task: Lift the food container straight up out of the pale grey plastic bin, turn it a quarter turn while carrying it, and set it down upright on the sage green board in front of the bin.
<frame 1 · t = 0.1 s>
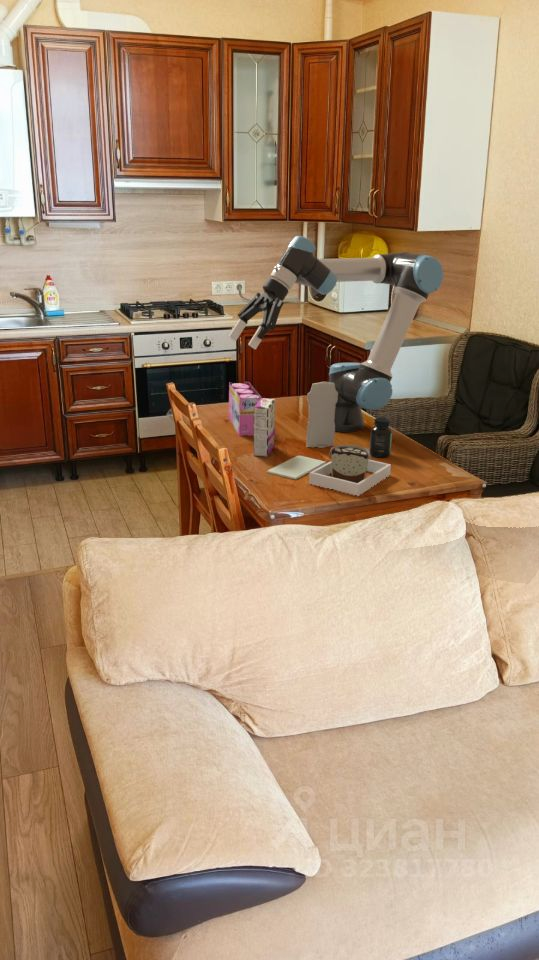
hand: (241, 343, 236), 36 cm above the table, tool tilted 35°, fingers open, 13 cm apart
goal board: (296, 467, 239), on the table
candy bar box: (263, 451, 253), on the table
grey upright slab: (320, 446, 259), on the table
food container: (350, 480, 230), resting in bin
supplement bottle: (379, 455, 252), on the table
bin: (350, 479, 230), on the table
gum box: (244, 426, 279), on the table
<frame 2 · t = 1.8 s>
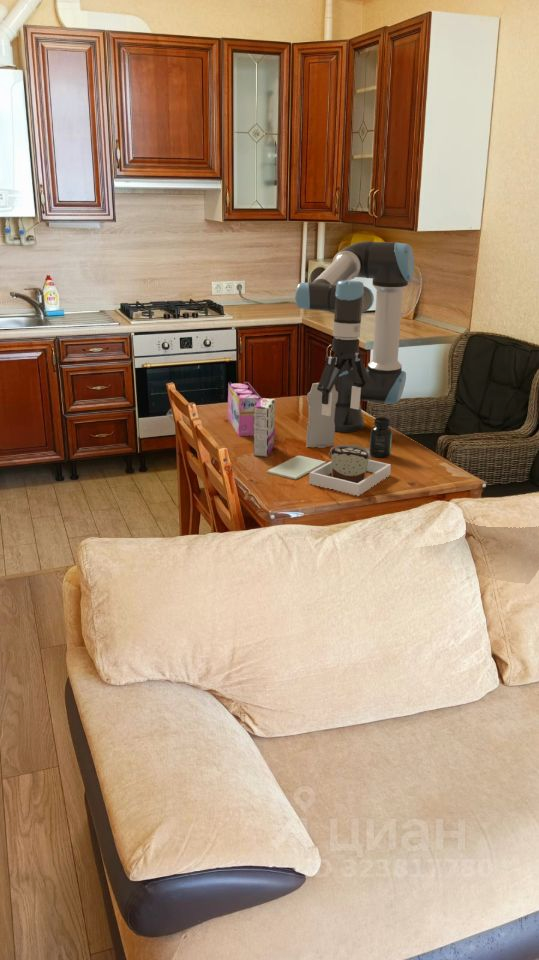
hand: (340, 412, 224), 21 cm above the table, tool pointing down, fingers open, 13 cm apart
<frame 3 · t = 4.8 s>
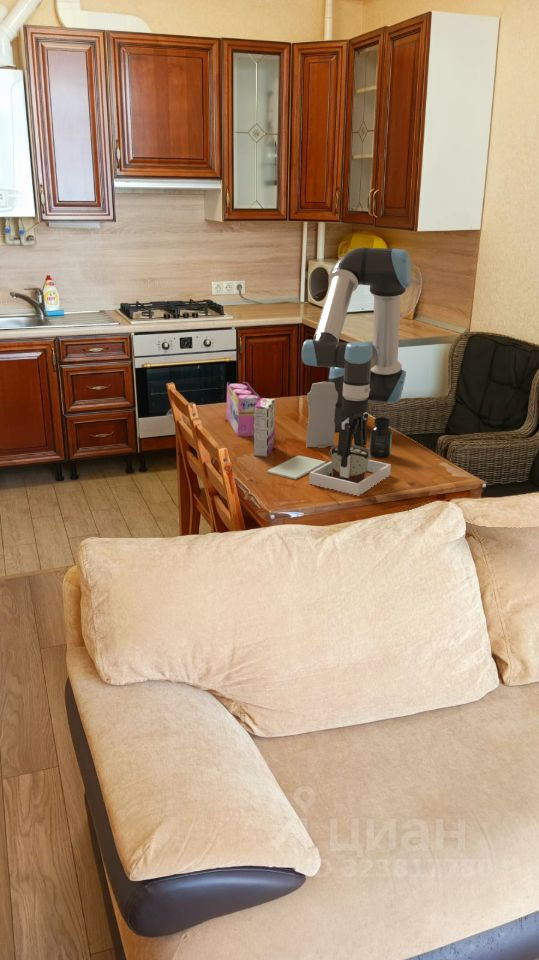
hand: (350, 473, 230), 2 cm above the table, tool pointing down, fingers closed on food container, 7 cm apart
food container: (350, 480, 230), resting in bin, touching gripper
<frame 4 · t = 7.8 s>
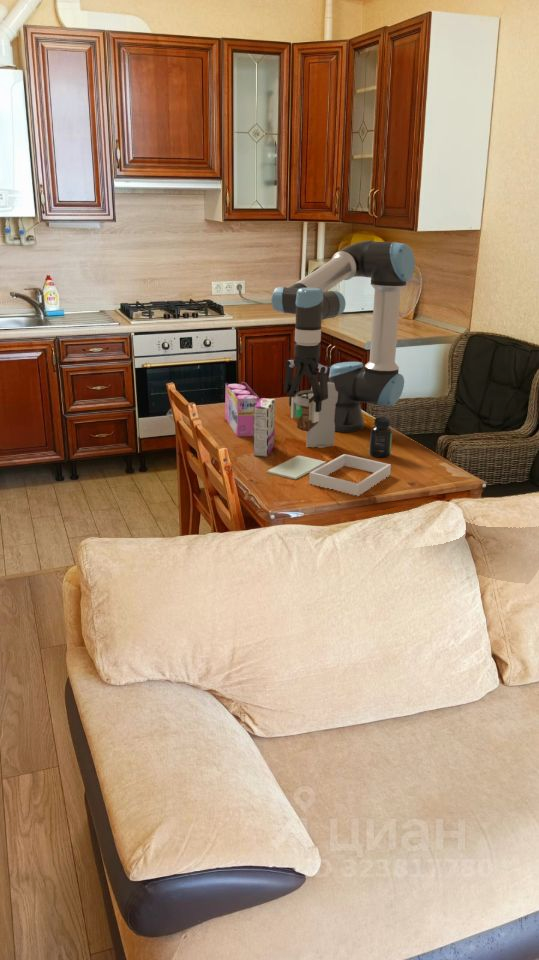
hand: (304, 419, 232), 16 cm above the table, tool pointing down, fingers closed on food container, 7 cm apart
food container: (303, 426, 233), point 13 cm above the table, touching gripper
when the fingers open (3 cm above the table, at t = 11.2 s): food container stays where it is, resting on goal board.
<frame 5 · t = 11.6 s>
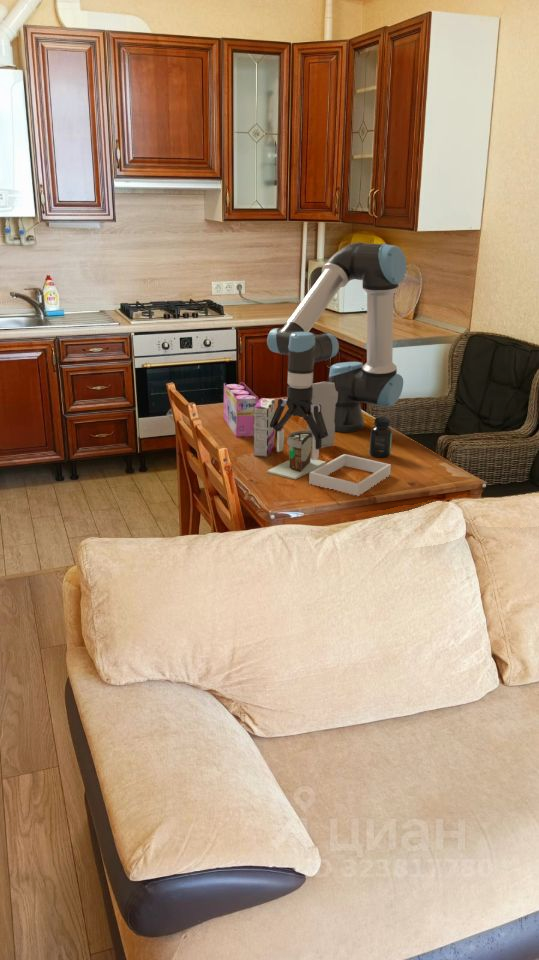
hand: (297, 454, 237), 4 cm above the table, tool pointing down, fingers open, 12 cm apart
food container: (296, 466, 239), resting on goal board
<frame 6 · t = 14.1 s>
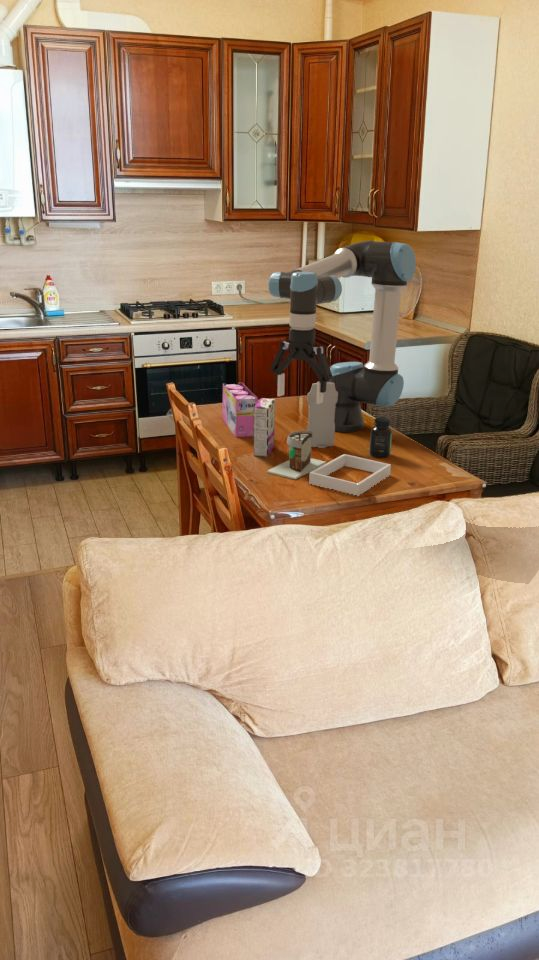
hand: (299, 399, 231), 22 cm above the table, tool pointing down, fingers open, 13 cm apart
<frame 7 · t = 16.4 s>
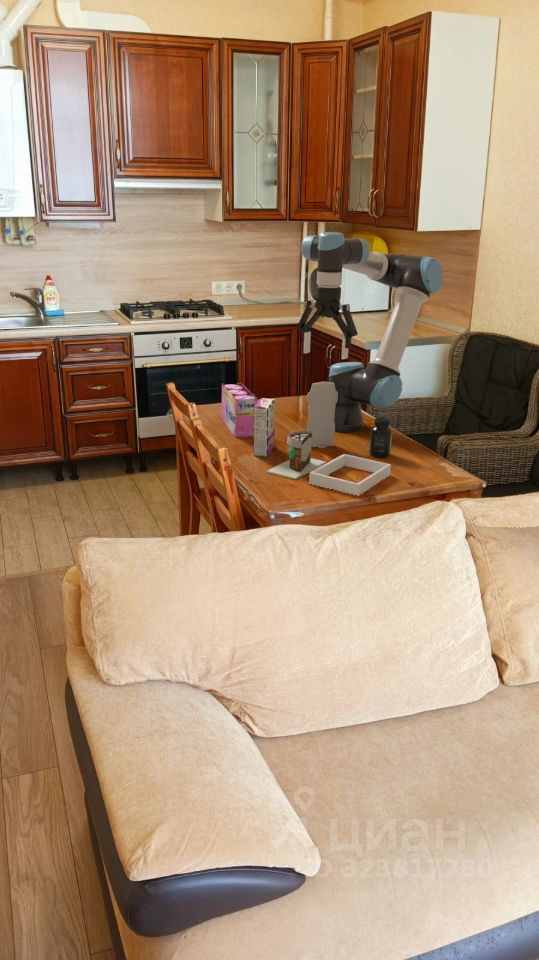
hand: (325, 355, 243), 32 cm above the table, tool pointing down, fingers open, 13 cm apart
at the end: food container inside the target area on the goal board (0.2 cm from its centre), point 0.4 cm above the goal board's base; food container tilted 0°; the gripper is holding nothing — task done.
